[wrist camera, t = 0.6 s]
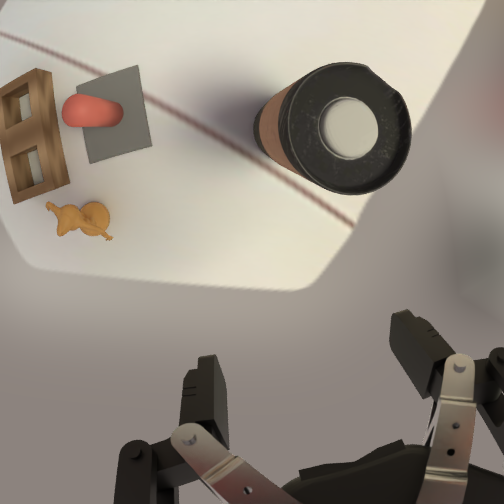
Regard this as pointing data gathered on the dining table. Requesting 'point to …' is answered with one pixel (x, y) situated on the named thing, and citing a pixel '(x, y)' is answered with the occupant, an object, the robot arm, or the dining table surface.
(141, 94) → the mat
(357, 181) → the travel mug
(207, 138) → the dining table surface
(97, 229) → the figurine
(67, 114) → the peg
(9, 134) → the hole block
